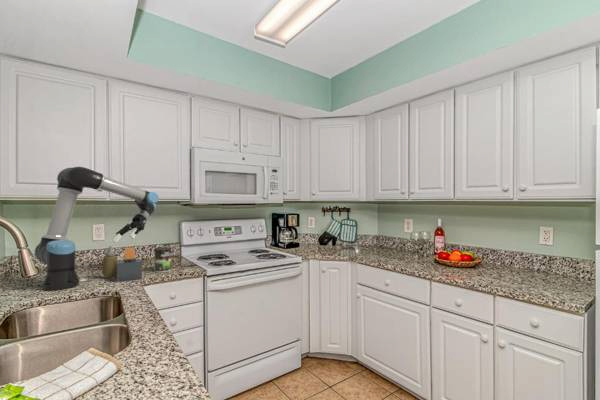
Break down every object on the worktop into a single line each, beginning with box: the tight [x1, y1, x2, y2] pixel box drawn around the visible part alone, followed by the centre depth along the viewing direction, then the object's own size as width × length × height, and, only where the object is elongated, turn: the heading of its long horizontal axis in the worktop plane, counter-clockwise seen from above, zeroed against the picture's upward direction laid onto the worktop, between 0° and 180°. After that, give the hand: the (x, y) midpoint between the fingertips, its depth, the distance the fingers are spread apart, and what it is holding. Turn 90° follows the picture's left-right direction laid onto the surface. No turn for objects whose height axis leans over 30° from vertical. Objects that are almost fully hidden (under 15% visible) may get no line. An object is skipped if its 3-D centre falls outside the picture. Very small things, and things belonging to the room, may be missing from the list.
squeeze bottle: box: [101, 246, 118, 280], centre depth 175 cm, size 8×8×18 cm
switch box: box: [116, 258, 143, 283], centre depth 172 cm, size 12×8×10 cm, turn 118°
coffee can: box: [153, 246, 173, 273], centre depth 192 cm, size 10×10×14 cm
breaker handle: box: [123, 247, 137, 261], centre depth 174 cm, size 6×4×7 cm, turn 118°
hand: (122, 239), depth 184 cm, fingers open, 13 cm apart
